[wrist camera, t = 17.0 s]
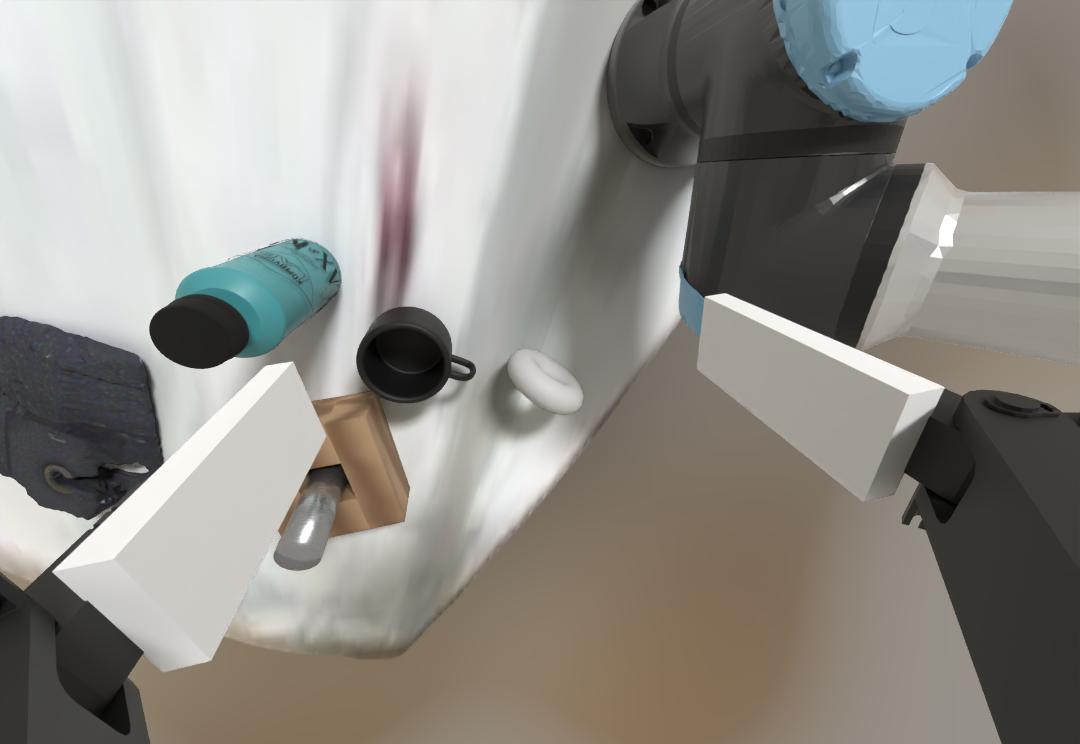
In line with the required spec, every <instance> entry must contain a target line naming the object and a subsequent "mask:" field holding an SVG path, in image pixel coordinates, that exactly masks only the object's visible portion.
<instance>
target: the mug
mask: <svg viewBox="0 0 1080 744" xmlns="http://www.w3.org/2000/svg"><path fill="white" fill-rule="evenodd" d="M451 362H454V363H457V364H460V365H462V366H465V367H467V368H469V369H470V373H468V374H463V373H458V372H454V371H452V370H451ZM356 363H357V369H358V372H359V375H360V377H361V379H362V380H363V382H364V383H365V384H366V386H367V387H368V388H369V389H370V390H371V391H373V392H374V393H375V394H377V395H378V396H380V397H382V398H384V399H387V400H389V401H393V402H397V403H415V402H420V401H423V400H426V399H428V398H430V397H432V396H434V395H435V394H436V393H438V392H439V391H440V390H441V389H442V388H443V386H444V385H445V384H446V382H447V380H448V378H452V379H455V380H460V381H468V380H470V379H472V378H473V377H474V375H475V372H476V368H475V365H474V364H473V363H472V362H470V361H468V360H466V359H463V358H461V357H458V356H455V355H452V343H451V338H450V335H449V332H448V330H447V329H446V327H445V325H444V324H443V323H442V322H441V321H440V320H439V319H438V318H437V317H436V316H434V315H433V314H431V313H430V312H428V311H425V310H423V309H420V308H416V307H398V308H394V309H391V310H388V311H386V312H385V313H383V314H381V315H380V316H379V317H378V318H377V319H376V320H375V321H374V322H373V323H372V325H371V326H370V328H369V330H368V331H367V333H366V335H365V336H364V338H363V339H362V341H361V343H360V345H359V348H358V351H357V357H356Z"/></svg>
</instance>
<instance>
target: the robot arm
mask: <svg viewBox="0 0 1080 744" xmlns="http://www.w3.org/2000/svg"><path fill="white" fill-rule="evenodd" d="M1012 2H1013V0H638V1H637V2H636V3H635V4H634V5H633V7H632V8H631V9H630V11H629V12H628V14H627V15H626V17H625V19H624V20H623V22H622V24H621V26H620V28H619V31H618V33H617V35H616V38H615V41H614V44H613V47H612V50H611V54H610V59H609V65H608V74H607V95H608V103H609V109H610V113H611V117H612V120H613V123H614V125H615V128H616V130H617V132H618V134H619V136H620V137H621V139H622V141H623V142H624V143H625V145H626V146H627V147H628V148H629V149H630V150H631V151H632V152H633V153H634V154H635V155H636V156H637V157H639V158H640V159H642V160H643V161H645V162H647V163H650V164H652V165H655V166H660V167H684V166H690V165H694V164H696V167H695V175H694V182H693V190H692V197H691V205H690V212H689V219H688V225H687V232H686V239H685V245H684V252H683V259H682V261H681V264H680V266H679V275H680V279H681V281H680V292H679V312H680V315H681V317H682V319H683V320H684V322H685V323H686V324H687V325H688V326H689V328H690V329H691V330H692V331H693V332H694V333H695V334H696V335H698V336H699V337H700V343H699V352H698V361H697V369H698V370H699V371H700V372H701V373H703V374H704V375H705V376H706V377H708V378H709V379H710V380H711V381H713V382H714V383H715V384H717V385H718V386H719V387H720V388H721V389H723V390H724V391H725V392H727V393H728V394H729V395H730V396H731V397H733V398H734V399H735V400H736V401H738V402H739V403H740V404H741V405H743V406H744V407H745V408H747V409H748V410H749V411H750V412H751V413H753V414H754V415H755V416H756V417H758V418H759V419H760V420H761V421H763V422H764V423H765V424H767V425H768V426H769V427H770V428H772V429H773V430H774V431H775V432H777V433H778V434H779V435H780V436H781V437H783V438H784V439H785V440H787V441H788V442H789V443H790V444H791V445H793V446H794V447H795V448H796V449H798V450H799V451H800V452H802V453H803V454H804V455H805V456H806V457H808V458H809V459H810V460H811V461H813V462H814V463H815V464H816V465H818V466H819V467H820V468H822V469H823V470H824V471H825V472H826V473H828V474H829V475H830V476H831V477H833V478H834V479H835V480H837V481H838V482H839V483H840V484H842V485H843V486H844V487H845V488H847V489H848V490H849V491H850V492H852V493H853V494H854V495H855V496H856V497H858V498H859V499H860V500H861V501H863V502H867V501H871V500H875V499H879V498H884V497H888V496H891V495H894V494H895V492H896V490H897V488H898V485H899V483H900V481H901V479H902V477H903V475H904V473H906V474H907V475H909V476H910V477H912V478H914V479H915V480H916V481H918V482H919V485H918V486H917V488H916V491H915V492H914V495H913V496H912V498H911V500H910V502H909V504H908V506H907V508H906V510H905V512H904V514H903V516H902V524H906V525H909V524H910V522H911V520H912V518H913V517H914V516H916V515H921V518H922V521H921V523H920V524H919V526H918V528H921V529H924V530H926V532H927V535H928V538H929V540H930V543H931V546H932V549H933V552H934V554H935V557H936V560H937V563H938V566H939V568H940V571H941V574H942V577H943V580H944V582H945V585H946V588H947V591H948V594H949V596H950V599H951V602H952V605H953V608H954V611H955V614H956V616H957V619H958V622H959V625H960V627H961V630H962V633H963V636H964V639H965V642H966V645H967V647H968V650H969V653H970V656H971V659H972V661H973V664H974V667H975V670H976V672H977V676H978V678H979V681H980V684H981V687H982V690H983V692H984V695H985V698H986V701H987V704H988V707H989V709H990V712H991V715H992V718H993V721H994V723H995V726H996V729H997V732H998V735H999V737H1000V740H1001V743H1002V744H1080V413H1063V412H1061V411H1060V410H1058V409H1057V408H1055V407H1054V406H1052V405H1050V404H1048V403H1043V402H1041V401H1039V400H1036V399H1032V398H1029V397H1025V396H1022V395H1019V394H1013V393H1008V392H1003V391H993V390H976V391H970V392H968V393H966V394H965V395H963V396H961V395H958V394H956V393H954V392H951V391H949V390H947V389H944V388H945V387H943V386H941V385H938V384H936V383H934V382H931V381H929V380H927V379H924V378H922V377H920V376H917V375H915V374H912V373H910V372H908V371H905V370H903V369H901V368H898V367H896V366H894V365H892V364H889V363H887V362H885V361H882V360H880V359H878V358H875V357H873V356H871V355H868V354H865V353H864V352H861V351H863V350H865V349H867V348H870V347H872V346H874V345H877V344H879V343H881V342H884V341H886V340H888V339H891V338H893V337H898V336H910V337H916V338H922V339H928V340H934V341H940V342H945V343H951V344H957V345H963V346H969V347H975V348H981V349H987V350H992V351H998V352H1004V353H1010V354H1016V355H1022V356H1028V357H1034V358H1040V359H1046V360H1052V361H1057V362H1063V363H1070V364H1075V365H1080V192H966V191H963V190H959V189H956V188H955V187H954V186H953V184H952V183H950V181H949V180H948V179H947V178H946V177H945V176H944V175H943V174H942V173H941V172H940V170H939V169H938V168H937V167H936V166H935V165H934V164H933V163H925V164H894V163H893V160H894V156H895V154H893V153H896V150H897V147H898V144H899V142H900V138H901V136H902V133H903V130H904V127H905V124H906V122H907V119H908V117H909V116H912V115H915V114H918V113H919V112H921V111H922V110H923V109H925V108H927V107H929V106H931V105H933V104H935V103H936V102H938V101H939V100H941V99H943V98H944V97H945V96H946V95H948V94H949V93H951V92H952V91H953V90H954V89H955V88H956V87H957V86H958V85H959V84H960V83H961V82H962V81H963V80H964V79H965V77H966V69H969V68H971V67H973V66H975V65H977V64H978V63H979V62H980V60H981V59H982V58H983V57H984V56H985V54H986V53H987V51H988V50H989V48H990V47H991V45H992V43H993V42H994V40H995V38H996V37H997V35H998V33H999V31H1000V29H1001V27H1002V25H1003V22H1004V21H1005V19H1006V17H1007V14H1008V12H1009V10H1010V7H1011V4H1012ZM325 438H326V434H325V432H324V429H323V427H322V425H321V423H320V420H319V418H318V416H317V414H316V411H315V409H314V407H313V405H312V403H311V400H310V398H309V396H308V394H307V391H306V389H305V387H304V385H303V382H302V380H301V378H300V376H299V373H298V371H297V369H296V367H295V365H294V362H286V363H280V364H273V365H267V366H265V367H264V368H263V369H262V370H261V371H259V372H258V373H257V374H256V375H255V376H254V377H253V378H252V379H251V380H250V381H249V382H248V383H247V384H246V385H245V386H244V387H243V388H242V389H241V390H240V391H239V392H238V393H237V394H236V395H235V396H234V397H233V398H231V399H230V400H229V401H228V402H227V403H226V404H225V405H224V406H223V407H222V408H221V409H220V410H219V411H218V412H217V413H216V414H215V415H214V416H213V417H212V418H211V419H210V420H209V421H208V422H207V423H206V424H205V425H204V426H202V427H201V428H200V429H199V430H198V431H197V432H196V433H195V434H194V435H193V436H192V437H191V438H190V439H189V440H188V441H187V442H186V443H185V444H184V445H183V446H182V447H181V448H180V449H179V450H178V451H177V452H176V453H174V454H173V455H172V456H171V457H170V458H169V459H168V460H167V461H166V462H165V463H164V464H163V465H162V466H161V467H160V468H159V469H158V470H157V471H156V472H155V473H154V474H153V475H151V476H150V477H148V478H147V479H145V480H144V481H142V482H141V483H139V484H138V485H136V486H135V487H133V488H132V489H131V490H130V491H129V492H128V493H127V494H126V495H125V496H124V497H122V498H121V499H120V500H119V501H118V502H117V503H116V504H115V505H114V506H113V507H112V511H110V512H107V513H106V514H104V515H103V516H102V517H101V518H100V519H99V520H98V521H97V522H96V523H95V524H94V525H93V526H94V528H93V529H90V530H88V531H87V532H85V533H84V534H83V535H82V536H81V537H80V538H79V539H78V540H77V541H76V542H75V543H74V544H73V545H72V546H71V547H70V548H69V549H68V550H66V551H65V552H64V553H63V554H62V555H61V556H60V557H59V558H58V559H57V560H56V561H55V562H54V563H53V564H52V565H51V566H50V567H48V568H47V569H46V570H45V571H44V572H43V573H42V574H41V575H40V576H39V577H38V578H37V579H36V580H35V581H34V582H33V583H32V584H31V585H29V586H28V587H27V588H26V589H25V590H24V591H22V590H21V589H20V588H19V587H18V586H16V585H15V584H14V583H13V582H12V581H10V580H9V579H8V578H7V577H6V576H4V575H3V574H2V573H1V572H0V744H150V740H149V736H148V731H147V726H146V722H145V716H144V712H143V707H142V702H141V698H140V692H139V689H138V688H137V687H136V686H135V684H134V683H133V682H132V681H131V680H130V679H129V678H127V677H128V675H129V674H130V672H131V671H132V669H133V668H134V666H135V665H136V663H137V662H138V660H139V659H140V657H141V656H142V654H143V655H144V656H145V657H147V658H148V659H149V660H150V661H151V662H152V663H153V664H154V665H155V666H157V667H158V668H159V669H160V670H161V671H162V672H167V671H170V670H175V669H179V668H183V667H187V666H191V665H195V664H199V663H203V662H208V661H211V659H212V657H213V656H214V654H215V652H216V650H217V648H218V646H219V644H220V642H221V640H222V638H223V636H224V634H225V632H226V630H227V628H228V627H229V625H230V623H231V621H232V619H233V617H234V615H235V613H236V611H237V609H238V607H239V605H240V603H241V601H242V599H243V597H244V595H245V594H246V592H247V590H248V588H249V586H250V584H251V582H252V580H253V578H254V576H255V574H256V572H257V570H258V568H259V566H260V564H261V562H262V561H263V559H264V557H265V555H266V553H267V551H268V549H269V547H270V545H271V543H272V541H273V539H274V537H275V535H276V533H277V531H278V529H279V528H280V526H281V524H282V522H283V520H284V518H285V516H286V514H287V512H288V510H289V508H290V506H291V504H292V502H293V500H294V498H295V496H296V495H297V493H298V491H299V489H300V487H301V485H302V483H303V481H304V479H305V477H306V475H307V473H308V471H309V469H310V467H311V465H312V463H313V462H314V460H315V458H316V456H317V454H318V452H319V450H320V448H321V446H322V444H323V442H324V440H325Z"/></svg>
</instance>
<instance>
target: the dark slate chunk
mask: <svg viewBox="0 0 1080 744" xmlns="http://www.w3.org/2000/svg"><path fill="white" fill-rule="evenodd" d="M146 383H147V374H146V370H145V368H144V365H143V362H142V360H141V359H140V357H139V356H138V355H136V354H134V353H131V352H128V351H125V350H122V349H119V348H116V347H112V346H109V345H107V344H104V343H101V342H98V341H95V340H92V339H90V338H88V337H82V336H80V335H75V334H72V333H66V332H64V331H62V330H61V329H59V328H56V327H53V326H51V325H48V324H40V323H37V322H30V321H28V320H25V319H22V318H19V317H8V316H3V317H0V474H2V475H3V476H7V477H11V478H13V479H15V480H16V481H17V482H18V483H19V484H21V485H22V486H23V487H25V489H26V491H27V494H28V495H29V496H30V497H31V498H33V499H34V500H35V501H36V502H37V503H38V505H40V506H42V507H45V508H49V509H53V510H60V511H65V512H67V513H70V514H72V515H74V516H76V517H78V518H80V517H83V518H85V519H86V520H90V519H92V518H93V517H95V516H97V515H98V514H100V513H101V512H102V511H104V510H106V509H108V508H110V507H111V506H113V505H115V504H116V503H117V502H118V501H119V500H120V499H121V498H122V497H124V496H125V495H126V494H127V493H128V492H129V491H130V490H131V489H132V488H133V487H135V486H136V485H138V484H139V483H141V482H142V481H144V480H145V479H147V478H148V477H150V476H151V475H153V474H154V473H155V472H156V471H157V470H158V469H159V468H160V467H161V466H162V456H161V455H160V452H161V449H160V446H159V445H158V443H159V439H158V437H157V436H158V435H157V434H156V430H155V417H154V416H153V413H152V408H153V406H152V404H151V401H150V400H151V399H150V396H149V389H148V387H147V384H146ZM135 461H137V462H139V464H141V465H144V466H145V467H146V468H147V469H148V470H149V472H147V473H136V472H134V473H132V472H126V471H124V470H121V469H112V470H109V468H106V467H102V466H101V465H104V464H106V463H112V464H116V465H122V464H133V463H134V462H135Z"/></svg>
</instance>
